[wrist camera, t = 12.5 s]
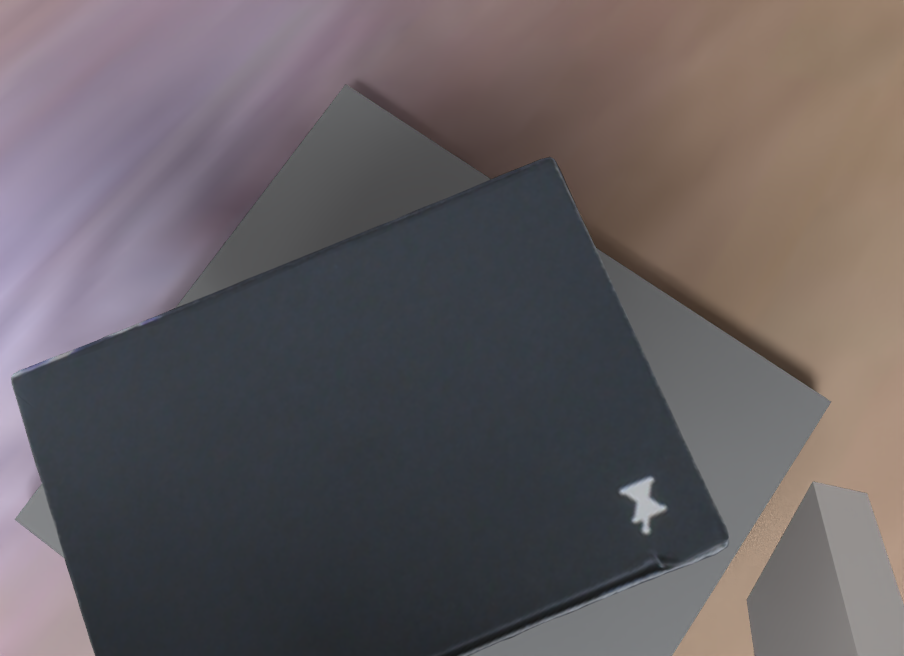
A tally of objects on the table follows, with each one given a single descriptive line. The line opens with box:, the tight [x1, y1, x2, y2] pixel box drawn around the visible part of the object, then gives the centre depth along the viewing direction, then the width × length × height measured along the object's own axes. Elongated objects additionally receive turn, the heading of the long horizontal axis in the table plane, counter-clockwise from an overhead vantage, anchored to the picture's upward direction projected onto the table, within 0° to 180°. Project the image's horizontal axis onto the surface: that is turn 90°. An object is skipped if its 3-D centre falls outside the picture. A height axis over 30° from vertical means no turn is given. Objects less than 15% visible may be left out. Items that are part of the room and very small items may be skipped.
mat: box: [15, 85, 831, 656], centre depth 21 cm, size 15×14×1 cm
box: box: [11, 157, 729, 656], centre depth 15 cm, size 8×6×11 cm
